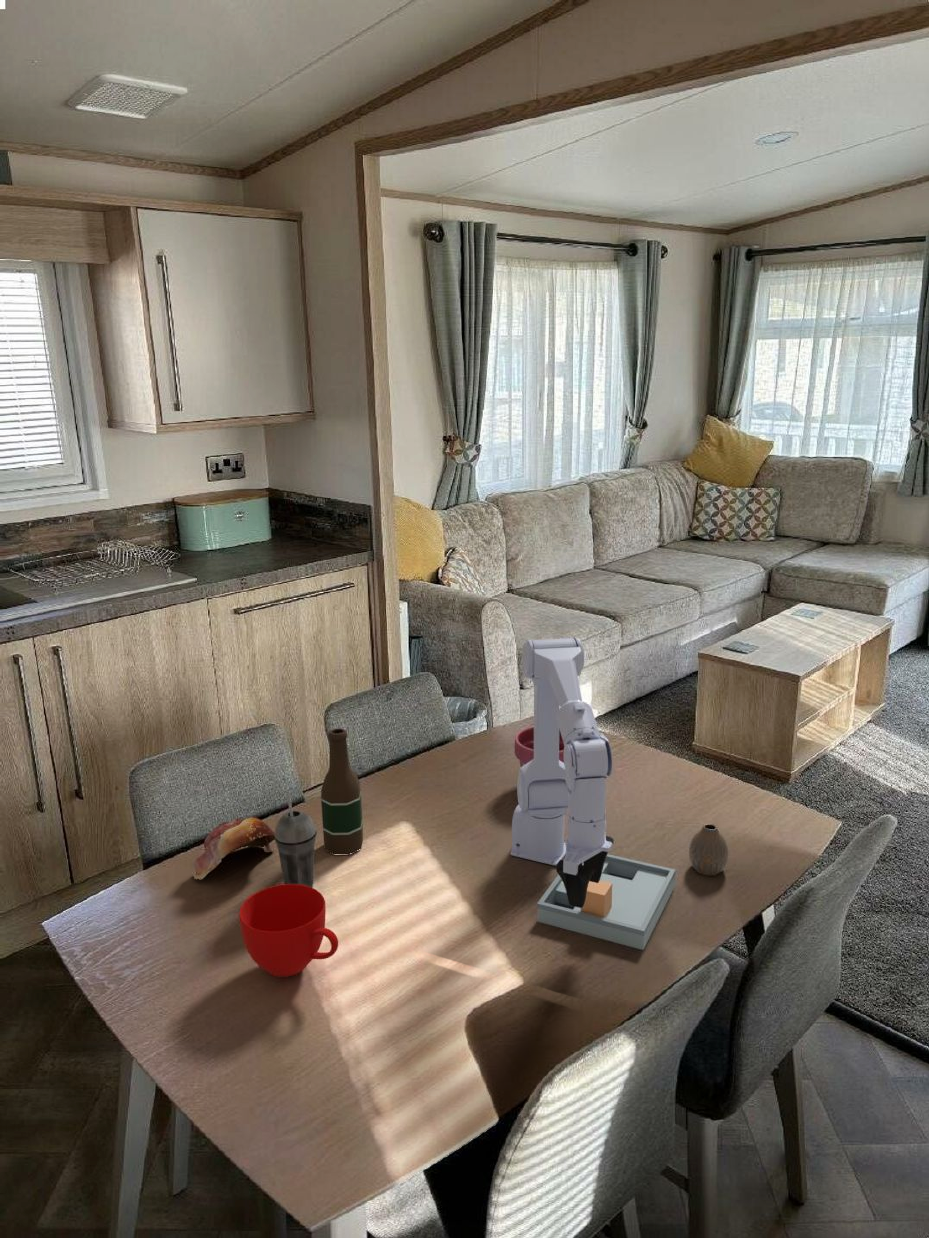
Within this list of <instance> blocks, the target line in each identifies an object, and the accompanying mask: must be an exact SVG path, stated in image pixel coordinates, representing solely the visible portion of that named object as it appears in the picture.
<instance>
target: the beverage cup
mask: <svg viewBox="0 0 929 1238" xmlns="http://www.w3.org/2000/svg"><path fill="white" fill-rule="evenodd" d="M286 798H287V804H288V810H289V811H288V812H286V813H284V814H283V815H282V816H281V817H280V818H279V819H278V821H277V823H276V825H275V828H274V833H275V835H274V839H275V840H274V841H275V844H276V849H277V851H278V856H279V861H280V867H281V871H282V878H283V879H282V880H283V884H299V885H305V886H309V887H312V888H313V887H314V872H315V871H314V869H315V868H314V866H315V862H314V861H315V844H316V837H317V833H318V832H317V830H316V829H317V828H316V826H315V823H314V821H313V819H312V817H311V816H309V815H308V814H307V813H305V812H303V811H300V810H293V806H292V805H293V804H292V798H291V794H290V791H287V792H286Z"/></svg>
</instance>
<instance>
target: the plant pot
mask: <svg viewBox="0 0 929 1238" xmlns="http://www.w3.org/2000/svg"><path fill="white" fill-rule="evenodd" d="M564 747H565V746H564V743H563V739H562V736H561V732H560V728H559V760H560V761H561V762H563V763H564ZM514 756H515V757H516V759H518V761H519V764H520V765H519V766H520V768H521V767H522V766H524V765H525V764H527V763H528V762H530V761H531V760H533V759H534V726H530V727H526V728H524V729H521V730H520V731H518V732H517V733H516V735H515V737H514Z"/></svg>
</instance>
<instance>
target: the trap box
mask: <svg viewBox="0 0 929 1238" xmlns="http://www.w3.org/2000/svg"><path fill="white" fill-rule="evenodd" d="M582 865H584V864H582ZM676 872H677V871H676V869H675V868H671V867H666V866H661V865H658V864H653V863H648V862H646V861H645V862H644V861H641V860H640V861H639V860H635V859H632V858H627V857H622V856H617V855H613V854H609V853H608V854H607V856H606V859H605V863H604V866H603V870H602V875H601V878H600V880H602V881H606V882H610V883H612V907H611V909H610V911H609V913H608V914H607V916H606V918H603V917H599V916H595V915H591V914H588V913H584V912H581V908H579V907H575V906H571V905H570V904H569V901H568V897H567V893H566V889H565V886H564V883H563V881H562V879H561V877H560V876H559V874H558V873H557V874H558V875H557V876H556V877H555V878H554V880H553V881H552V883H551V884H550V885H549V887H548V888H547V889H546V891H545V892H544V893H543V895H542V896H541V898H540V899H539V900H538V901H537V903H536V907H537V908H536V909H537V912H536V922H537V923H542V924H545V925H549V926H552V927H556V928H560V929H563V930H564V929H565V930H568V931H572V932H575V933H579V934H581V935H586V936H589V937H592V938H593V937H594V938H597V939H602V940H604V941H609V942H612V943H615V944H620V945H623V946H627V947H630V948H635V949H638V950H642V951H644V949H645V948H646V947H647V944H648V941H649V939H650V937H651V935H652V933H653V932H654V930H655V927H656V926H657V923H658V921H659V920H660V917H661V915H662V913H664V909H665V908H666V905H667V903H668V901H669V899H670V898H671V896H672V895H671V894H672V893H673V891H674V889H675V887H676Z"/></svg>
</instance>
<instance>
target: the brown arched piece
mask: <svg viewBox="0 0 929 1238" xmlns="http://www.w3.org/2000/svg"><path fill="white" fill-rule="evenodd" d="M274 835H275V831H274V830H273V829H272V828H271V827H270V826H269V825H268V824H267V823H266V822H265V821H263V820H261V819H260V818H256V817H247V818H245V819H241V818H236V819H235V820H233V821H228V822H227V821H225V822H221V823H218V826H216V827H214V828H213V829H212V830H211V831H210V832H209V834H208V835H207V837H206V838H205V840H204V844H203V846H204V852H203V853H202V854H201V855H200V856H199V857H198V858H196V859H195V860H194V864H193V865H194V872H195V871H196V874H195V875H197V876H198V877H197V876H196V877H197V878H201V879H200V880H203V879H204V878H205V877H207V875H208V874H209V873H210V872H212V871H213V870H214V869H216V868H217V867H218V865H219V864H220V863H221V862H222V859H224V858H225V857H226V856H227V855H228V854H231V853H230V852H232V851H233V852H236V851H237V849H238V850H239V848H240V849H242V848H241V847H244V848H247V847H246V846H260V847H259V848H262V847H264V848H263V851H264V853H270V852H273V851H272V850H271V849H272V848H271V847H270V843H272V842H273V841H275V839H274ZM233 852H232V853H233Z"/></svg>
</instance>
